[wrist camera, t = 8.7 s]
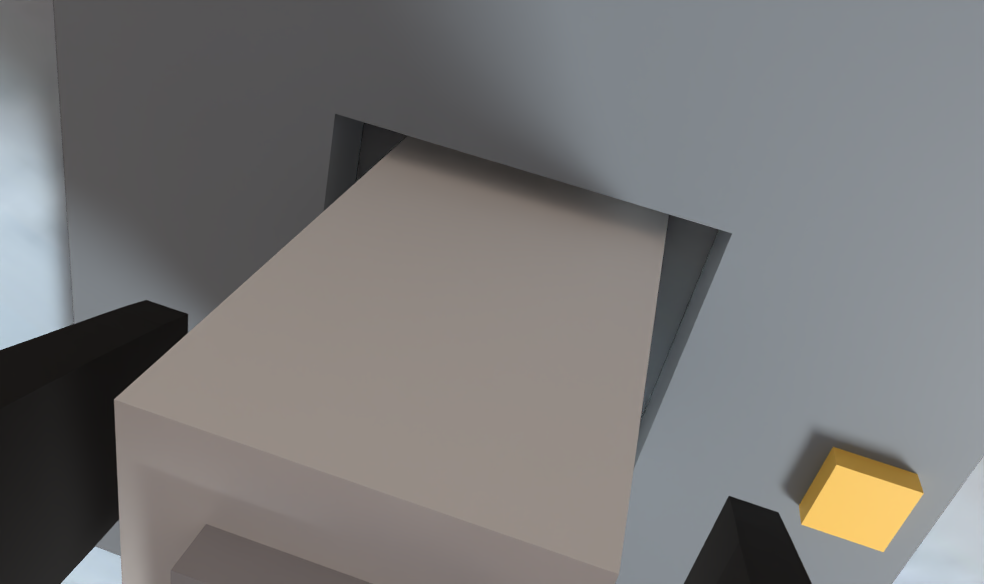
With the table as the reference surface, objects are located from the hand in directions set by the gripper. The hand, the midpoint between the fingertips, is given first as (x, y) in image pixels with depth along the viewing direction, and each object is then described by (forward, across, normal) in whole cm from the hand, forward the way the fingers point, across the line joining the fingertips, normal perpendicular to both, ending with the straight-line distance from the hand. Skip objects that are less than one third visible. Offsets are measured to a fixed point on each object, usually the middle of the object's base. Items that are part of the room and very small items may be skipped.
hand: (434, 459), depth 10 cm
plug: (+3, 0, 0) cm, 4 cm away
